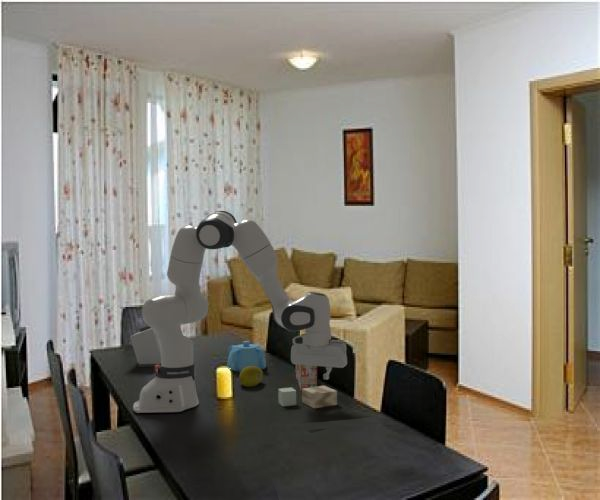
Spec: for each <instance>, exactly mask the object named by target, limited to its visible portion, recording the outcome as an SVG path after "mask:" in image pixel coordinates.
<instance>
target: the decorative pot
mask: <svg viewBox="0 0 600 500" xmlns="http://www.w3.org/2000/svg"><path fill="white" fill-rule="evenodd" d="M227 351H228V357H227V365H226V366H227V368H228V367H229V368H231V369H232V370H231V371H234V372H238V373H240V372H241V371H242V370H243V369H244V368H246V367H248V366H255V367H258V368H259V369H261V370H263V369H266V367H267V360H266V351H265V349H263V348H262V347H261V345H260V344H258V343H254V344H253V343H251V341H249V340H243V341H242V344H236V345H230V346H229V347H228V349H227Z"/></svg>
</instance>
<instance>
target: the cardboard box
mask: <svg viewBox="0 0 600 500" xmlns="http://www.w3.org/2000/svg"><path fill="white" fill-rule="evenodd" d="M294 365H295V376H296V381H297V380H298V381H297V383H298V387H299V389H300V392H301V391H302V389H303V388H310V387H317V386H318V366H312V367H311V369H312V371H313V372H315V378H309V373H308V371H307V369H306V365H300V364H294Z"/></svg>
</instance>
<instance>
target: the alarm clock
mask: <svg viewBox="0 0 600 500" xmlns="http://www.w3.org/2000/svg"><path fill="white" fill-rule="evenodd" d="M138 330H139V331H138V332H136V333H134V334H132V335H131V336H129V338H130V342H131V345H132V349H133V351H134V353H135V354H134V355H135V357H136V360H137V367H138V368H139V367H141V368H143V367H144V368H146V367H148V368H149V367H151V368H152V367H154V368H155V366H156V365H161V348H160V342H159V339H158V337H157V334H156V333H155V331H154V330H153V329H152V328H151V327H149V326H148V325H147V324H146V325H144V326H142V327H140V328H139V329H138Z"/></svg>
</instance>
